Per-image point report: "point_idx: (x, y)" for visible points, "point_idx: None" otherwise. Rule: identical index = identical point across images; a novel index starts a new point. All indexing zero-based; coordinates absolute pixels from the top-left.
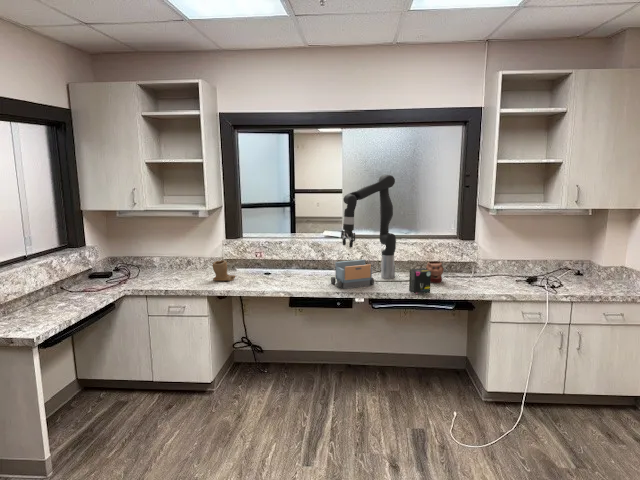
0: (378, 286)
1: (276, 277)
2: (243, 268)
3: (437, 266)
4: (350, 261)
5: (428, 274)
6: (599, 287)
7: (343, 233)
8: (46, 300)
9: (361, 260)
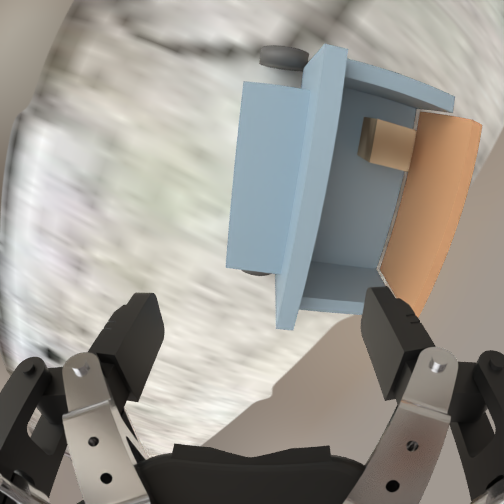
0: (424, 81)
1: None
2: (12, 362)
3: None
4: (321, 211)
5: None
6: None
7: (46, 496)
8: None
9: (342, 87)
